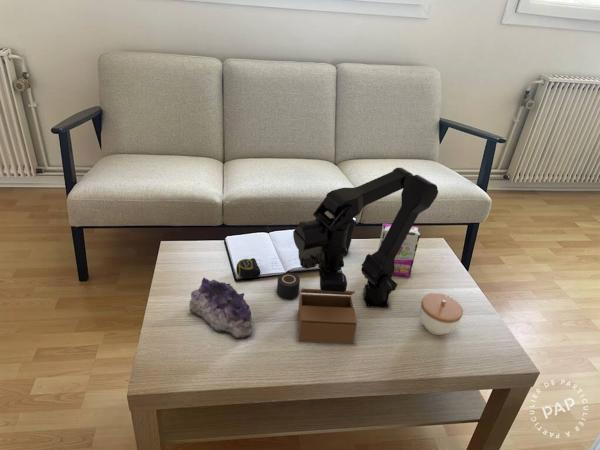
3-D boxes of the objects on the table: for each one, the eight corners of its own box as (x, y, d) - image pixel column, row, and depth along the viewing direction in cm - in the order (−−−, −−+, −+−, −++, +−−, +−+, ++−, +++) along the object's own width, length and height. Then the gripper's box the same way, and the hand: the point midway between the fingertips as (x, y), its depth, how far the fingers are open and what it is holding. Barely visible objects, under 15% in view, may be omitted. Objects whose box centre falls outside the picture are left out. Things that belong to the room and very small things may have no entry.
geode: (267, 322, 111) (267, 297, 105) (237, 351, 103) (234, 325, 97) (215, 287, 120) (211, 262, 114) (183, 311, 113) (178, 285, 107)
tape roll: (298, 286, 125) (299, 272, 122) (298, 300, 119) (300, 286, 117) (277, 285, 125) (278, 271, 122) (276, 299, 119) (277, 285, 116)
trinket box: (449, 347, 108) (459, 321, 103) (410, 329, 112) (418, 303, 108) (459, 324, 116) (468, 298, 111) (422, 308, 121) (430, 283, 116)
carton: (298, 341, 106) (301, 320, 102) (298, 311, 115) (300, 291, 112) (352, 343, 106) (357, 322, 103) (347, 314, 116) (351, 294, 112)
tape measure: (260, 279, 126) (261, 269, 125) (238, 282, 124) (238, 272, 122) (255, 266, 132) (256, 256, 130) (234, 268, 130) (234, 258, 128)
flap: (301, 289, 106) (301, 288, 107) (300, 292, 112) (300, 291, 112) (355, 292, 107) (355, 291, 107) (351, 295, 112) (351, 293, 112)
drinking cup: (326, 255, 140) (333, 203, 130) (333, 244, 146) (340, 193, 136) (348, 261, 138) (356, 209, 128) (354, 250, 144) (363, 199, 134)
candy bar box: (407, 268, 137) (418, 226, 129) (409, 277, 133) (421, 234, 125) (374, 264, 138) (383, 222, 130) (374, 273, 134) (384, 230, 125)
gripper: (301, 219, 109) (296, 267, 117) (302, 260, 93) (297, 312, 101) (343, 222, 110) (335, 269, 118) (351, 263, 94) (342, 315, 102)
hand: (327, 290), depth 109 cm, fingers closed
